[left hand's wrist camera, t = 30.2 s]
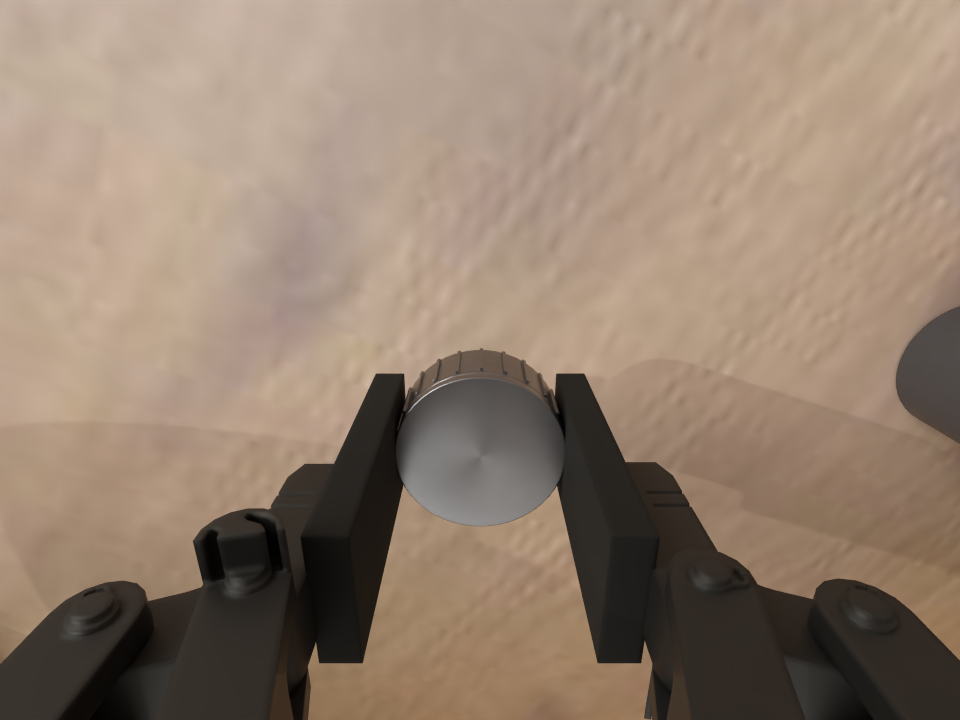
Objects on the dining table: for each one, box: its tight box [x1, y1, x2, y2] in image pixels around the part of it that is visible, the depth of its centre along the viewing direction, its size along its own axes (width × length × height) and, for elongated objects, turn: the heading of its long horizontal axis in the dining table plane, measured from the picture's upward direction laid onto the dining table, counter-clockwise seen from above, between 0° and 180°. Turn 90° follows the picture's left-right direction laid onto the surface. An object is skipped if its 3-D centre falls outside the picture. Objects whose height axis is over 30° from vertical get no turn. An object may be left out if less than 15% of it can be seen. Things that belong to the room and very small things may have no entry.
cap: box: [395, 348, 565, 526], centre depth 14 cm, size 4×4×2 cm
